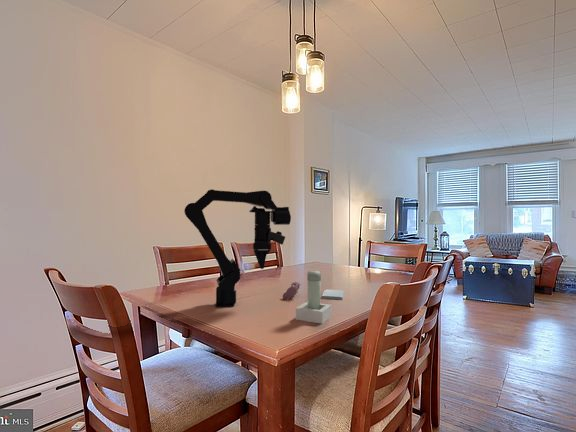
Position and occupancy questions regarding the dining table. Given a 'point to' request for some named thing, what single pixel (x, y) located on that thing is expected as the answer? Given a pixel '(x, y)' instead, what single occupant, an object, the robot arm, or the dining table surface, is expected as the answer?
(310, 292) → the toggle switch lever
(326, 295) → the hard drive
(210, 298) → the dining table surface
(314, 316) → the housing
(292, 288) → the video game controller
